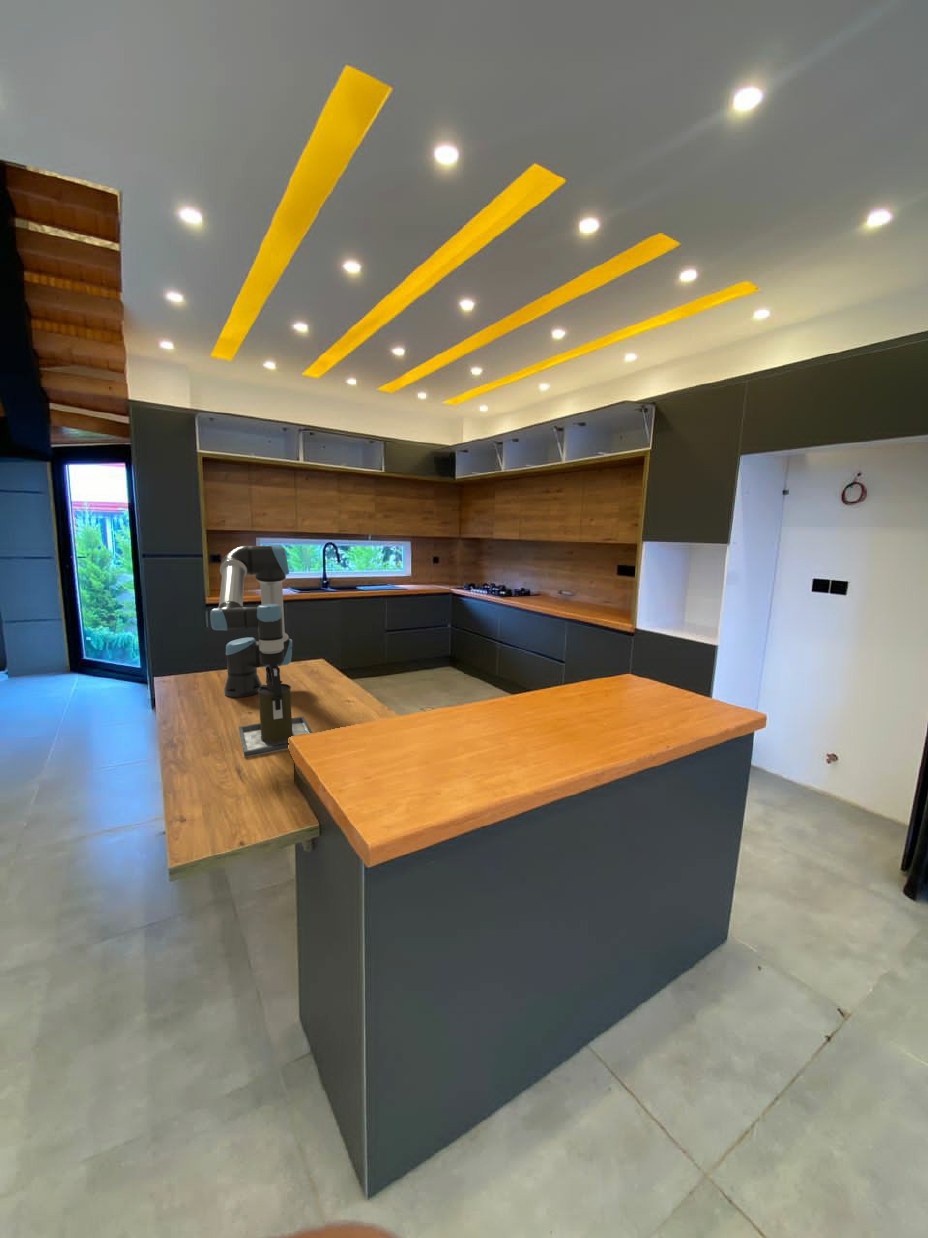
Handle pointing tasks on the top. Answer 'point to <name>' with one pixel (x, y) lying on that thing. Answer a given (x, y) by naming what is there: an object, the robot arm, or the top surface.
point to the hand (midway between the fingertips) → (275, 711)
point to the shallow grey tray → (257, 747)
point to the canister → (272, 727)
